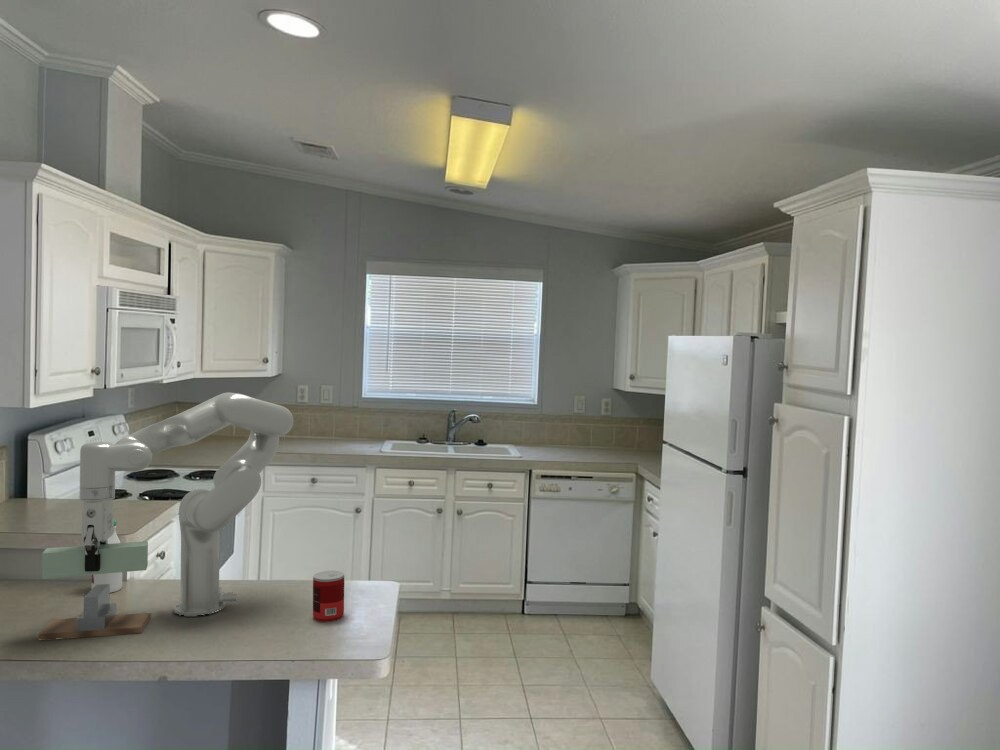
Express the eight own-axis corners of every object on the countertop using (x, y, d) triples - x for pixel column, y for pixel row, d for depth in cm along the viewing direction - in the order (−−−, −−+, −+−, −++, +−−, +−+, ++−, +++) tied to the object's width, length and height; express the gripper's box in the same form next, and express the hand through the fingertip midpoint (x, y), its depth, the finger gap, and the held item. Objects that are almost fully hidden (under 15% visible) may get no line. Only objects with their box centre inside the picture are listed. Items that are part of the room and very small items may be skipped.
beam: (147, 564, 181) (147, 541, 181) (146, 570, 177) (146, 545, 177) (46, 573, 173) (46, 548, 173) (42, 578, 168) (42, 553, 168)
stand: (150, 618, 183) (150, 581, 183) (141, 633, 173) (141, 593, 173) (53, 625, 177) (53, 587, 177) (38, 640, 168) (38, 600, 167)
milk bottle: (128, 586, 208) (128, 518, 208) (109, 595, 200) (109, 524, 200) (104, 585, 209) (105, 516, 209) (84, 593, 202) (85, 522, 201)
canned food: (349, 614, 188) (350, 572, 188) (330, 624, 181) (331, 580, 181) (326, 609, 191) (326, 568, 191) (306, 619, 184) (306, 576, 184)
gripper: (104, 499, 167) (103, 576, 167) (123, 487, 184) (122, 557, 184) (68, 500, 165) (67, 578, 166) (91, 487, 182) (90, 558, 182)
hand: (96, 566), depth 175 cm, fingers closed on beam, 5 cm apart
